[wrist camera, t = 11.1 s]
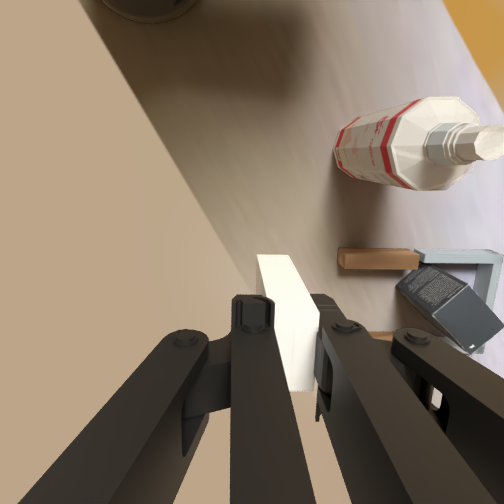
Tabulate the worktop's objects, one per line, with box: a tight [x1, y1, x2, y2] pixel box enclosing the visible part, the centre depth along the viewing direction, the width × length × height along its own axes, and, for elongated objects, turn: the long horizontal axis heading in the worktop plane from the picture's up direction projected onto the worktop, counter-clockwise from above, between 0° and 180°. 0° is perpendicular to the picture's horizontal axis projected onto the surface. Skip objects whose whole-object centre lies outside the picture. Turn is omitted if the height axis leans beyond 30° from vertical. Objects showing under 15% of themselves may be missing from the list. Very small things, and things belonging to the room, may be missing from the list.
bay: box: [414, 249, 504, 354], centre depth 52 cm, size 15×11×3 cm
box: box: [396, 262, 504, 355], centre depth 48 cm, size 8×6×11 cm
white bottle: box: [333, 97, 504, 191], centre depth 36 cm, size 8×8×25 cm
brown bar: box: [337, 248, 420, 341], centre depth 52 cm, size 15×10×4 cm, turn 179°
